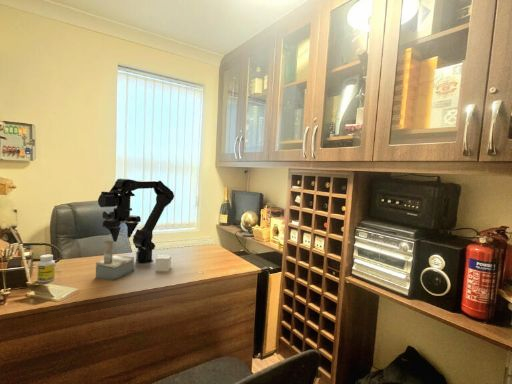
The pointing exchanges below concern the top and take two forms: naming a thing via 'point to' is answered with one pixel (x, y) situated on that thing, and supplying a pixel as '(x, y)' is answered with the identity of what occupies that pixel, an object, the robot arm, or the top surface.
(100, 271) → the storage box
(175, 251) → the top surface
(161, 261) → the white cube
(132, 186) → the robot arm
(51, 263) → the supplement bottle
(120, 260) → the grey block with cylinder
